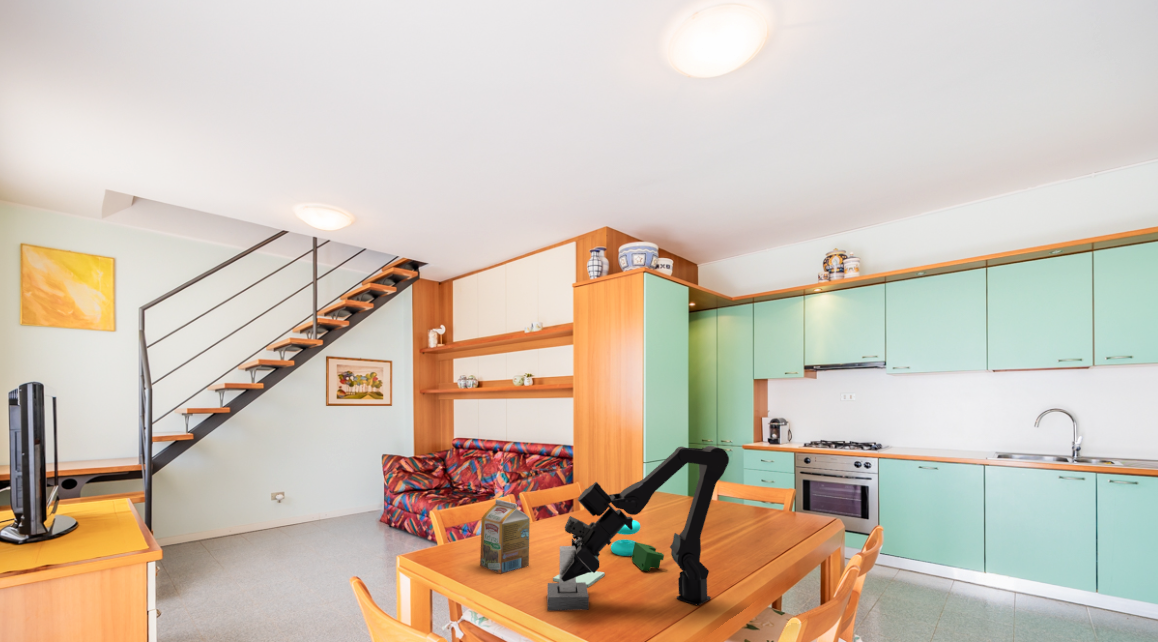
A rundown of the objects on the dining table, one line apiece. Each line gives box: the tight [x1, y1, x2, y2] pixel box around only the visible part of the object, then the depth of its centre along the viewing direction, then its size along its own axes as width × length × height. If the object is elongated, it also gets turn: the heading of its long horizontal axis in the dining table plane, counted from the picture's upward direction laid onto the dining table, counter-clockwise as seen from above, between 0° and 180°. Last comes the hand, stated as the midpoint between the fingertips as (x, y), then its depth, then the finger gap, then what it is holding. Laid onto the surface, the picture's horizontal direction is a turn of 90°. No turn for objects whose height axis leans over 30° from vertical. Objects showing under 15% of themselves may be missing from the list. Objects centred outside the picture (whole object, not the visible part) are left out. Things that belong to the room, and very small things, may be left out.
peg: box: [558, 545, 576, 593], centre depth 133 cm, size 4×4×13 cm
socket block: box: [546, 582, 590, 612], centre depth 133 cm, size 10×10×3 cm
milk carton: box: [479, 499, 531, 575], centre depth 162 cm, size 11×11×19 cm
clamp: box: [631, 541, 665, 572], centre depth 162 cm, size 12×6×9 cm, turn 7°
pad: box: [552, 570, 606, 589], centre depth 150 cm, size 11×11×1 cm
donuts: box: [610, 519, 641, 557], centre depth 176 cm, size 10×10×10 cm
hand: (562, 574), depth 133 cm, fingers open, 8 cm apart
